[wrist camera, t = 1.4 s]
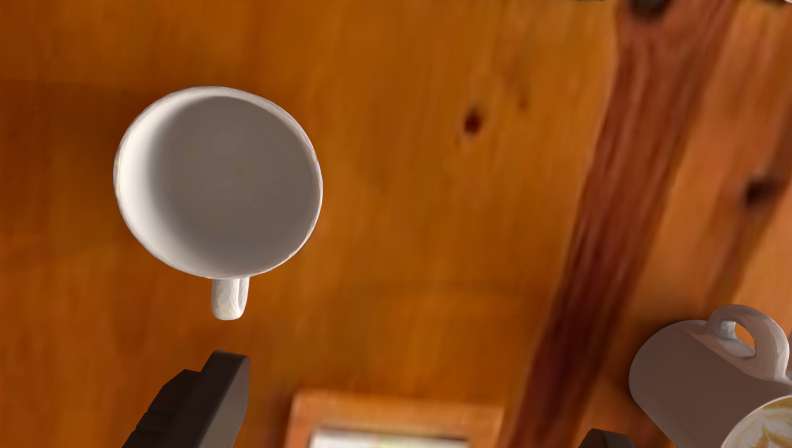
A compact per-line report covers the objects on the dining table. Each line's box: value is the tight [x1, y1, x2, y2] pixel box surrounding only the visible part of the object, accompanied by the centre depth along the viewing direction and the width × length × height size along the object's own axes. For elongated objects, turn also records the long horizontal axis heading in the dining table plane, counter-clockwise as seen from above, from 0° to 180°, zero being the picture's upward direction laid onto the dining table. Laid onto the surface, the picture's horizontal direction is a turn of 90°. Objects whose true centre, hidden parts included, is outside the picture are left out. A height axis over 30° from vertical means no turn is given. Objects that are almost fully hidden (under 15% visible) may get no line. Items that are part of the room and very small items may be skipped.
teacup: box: [113, 86, 323, 320], centre depth 29 cm, size 14×11×8 cm
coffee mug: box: [629, 305, 792, 448], centre depth 36 cm, size 13×10×10 cm
